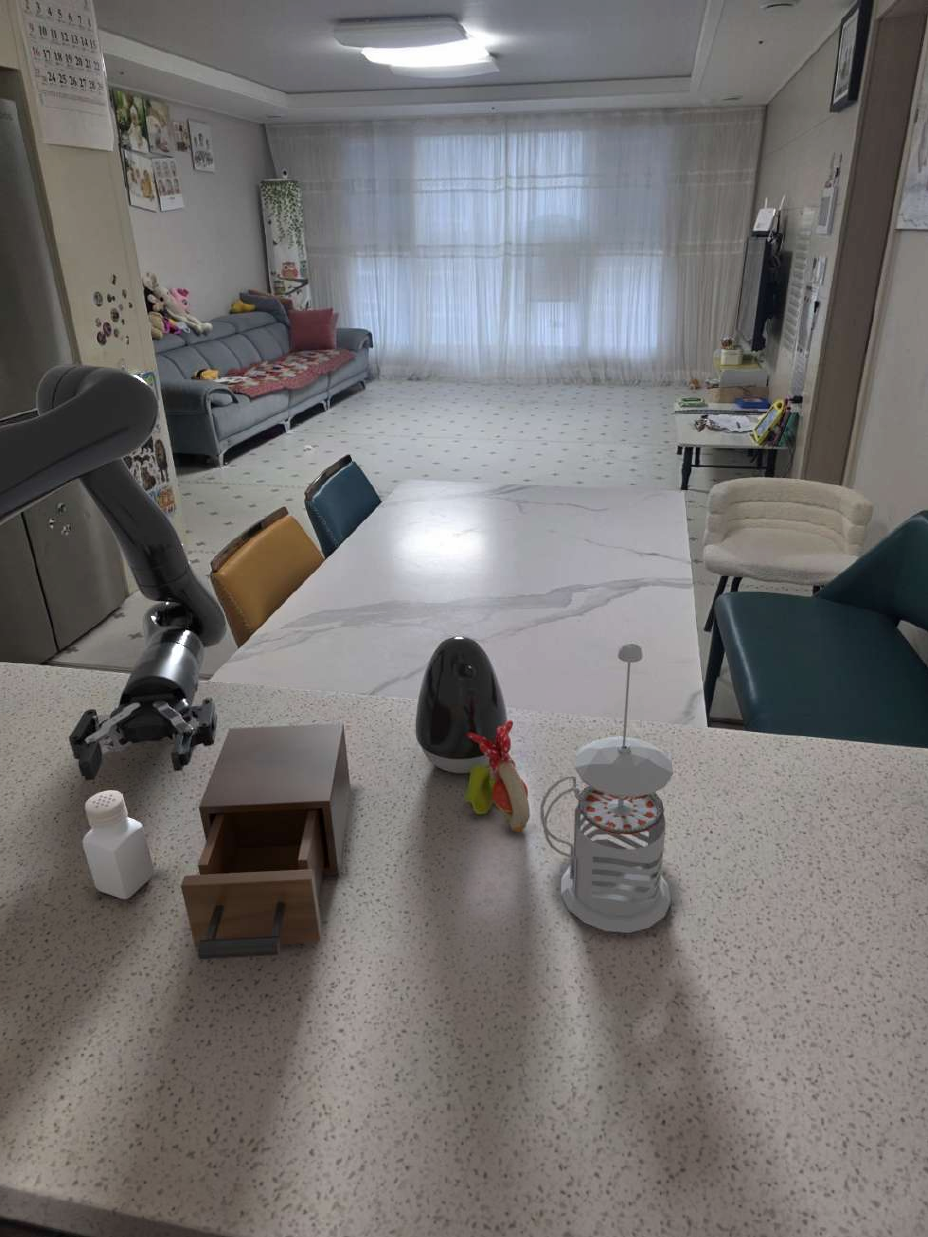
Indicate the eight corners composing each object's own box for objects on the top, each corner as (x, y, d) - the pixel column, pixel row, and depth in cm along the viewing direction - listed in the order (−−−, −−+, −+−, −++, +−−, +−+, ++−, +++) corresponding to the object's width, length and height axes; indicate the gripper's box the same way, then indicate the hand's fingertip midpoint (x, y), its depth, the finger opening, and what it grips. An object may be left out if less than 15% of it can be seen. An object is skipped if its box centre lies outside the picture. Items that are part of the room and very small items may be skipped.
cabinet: (339, 875, 77) (329, 801, 73) (214, 881, 76) (198, 807, 73) (350, 790, 88) (343, 723, 84) (242, 795, 88) (229, 728, 84)
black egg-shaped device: (427, 795, 87) (419, 669, 80) (410, 741, 96) (402, 624, 89) (520, 779, 89) (520, 655, 82) (494, 727, 98) (492, 612, 91)
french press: (685, 928, 70) (715, 671, 59) (549, 939, 69) (554, 681, 58) (653, 849, 79) (674, 612, 68) (532, 857, 78) (534, 620, 67)
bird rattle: (544, 835, 84) (504, 763, 89) (570, 777, 76) (525, 702, 81) (490, 855, 82) (452, 780, 87) (511, 798, 73) (468, 719, 79)
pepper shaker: (125, 863, 79) (103, 783, 75) (158, 874, 78) (137, 792, 73) (93, 892, 76) (69, 809, 72) (127, 903, 74) (104, 820, 70)
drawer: (313, 991, 64) (302, 927, 61) (178, 998, 64) (162, 934, 61) (334, 847, 79) (327, 789, 76) (225, 852, 79) (214, 795, 76)
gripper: (91, 664, 94) (47, 744, 79) (219, 652, 95) (199, 729, 81) (106, 719, 97) (66, 807, 82) (229, 707, 98) (212, 790, 84)
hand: (132, 768), depth 82 cm, fingers open, 8 cm apart
